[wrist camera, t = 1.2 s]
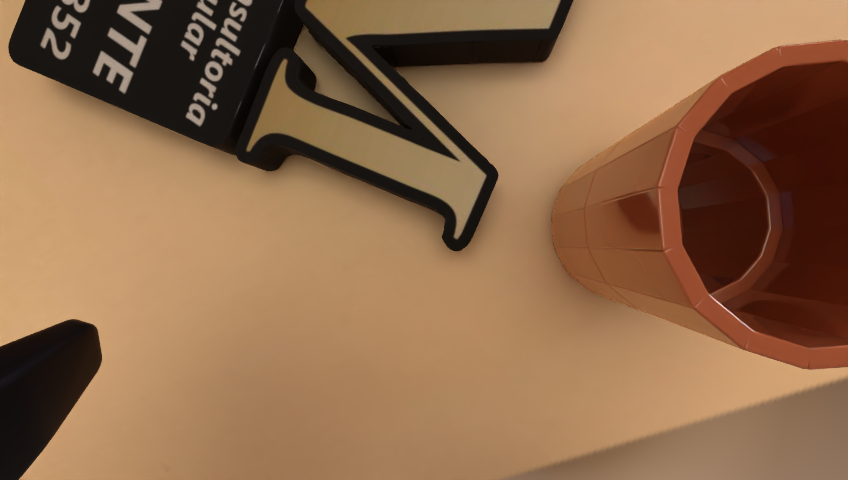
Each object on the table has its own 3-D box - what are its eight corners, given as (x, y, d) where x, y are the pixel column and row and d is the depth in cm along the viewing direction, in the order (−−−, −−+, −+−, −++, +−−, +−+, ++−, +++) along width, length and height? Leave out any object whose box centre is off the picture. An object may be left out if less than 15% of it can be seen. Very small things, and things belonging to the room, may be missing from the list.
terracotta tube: (631, 327, 23) (848, 435, 10) (520, 234, 23) (591, 224, 11) (728, 216, 23) (1075, 182, 10) (613, 124, 23) (804, -26, 10)
